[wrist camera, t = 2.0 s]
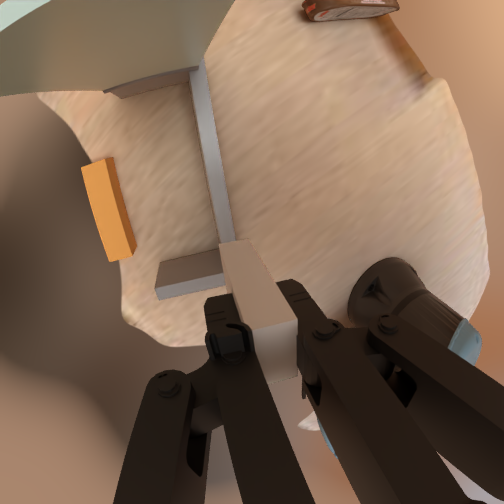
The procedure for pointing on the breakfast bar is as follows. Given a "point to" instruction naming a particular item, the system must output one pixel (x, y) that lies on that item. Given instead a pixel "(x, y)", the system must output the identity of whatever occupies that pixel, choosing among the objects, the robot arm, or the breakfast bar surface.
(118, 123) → the breakfast bar surface
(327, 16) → the tin
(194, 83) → the grey u-shaped bracket
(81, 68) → the cover
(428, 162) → the breakfast bar surface
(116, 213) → the orange block
